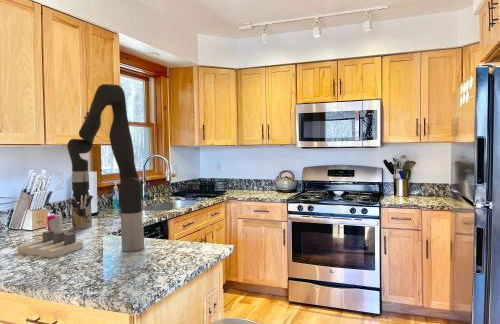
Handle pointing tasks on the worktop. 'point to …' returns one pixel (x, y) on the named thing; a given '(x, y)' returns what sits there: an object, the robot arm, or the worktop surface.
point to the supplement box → (55, 223)
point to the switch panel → (48, 248)
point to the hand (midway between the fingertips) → (81, 216)
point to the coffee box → (81, 218)
